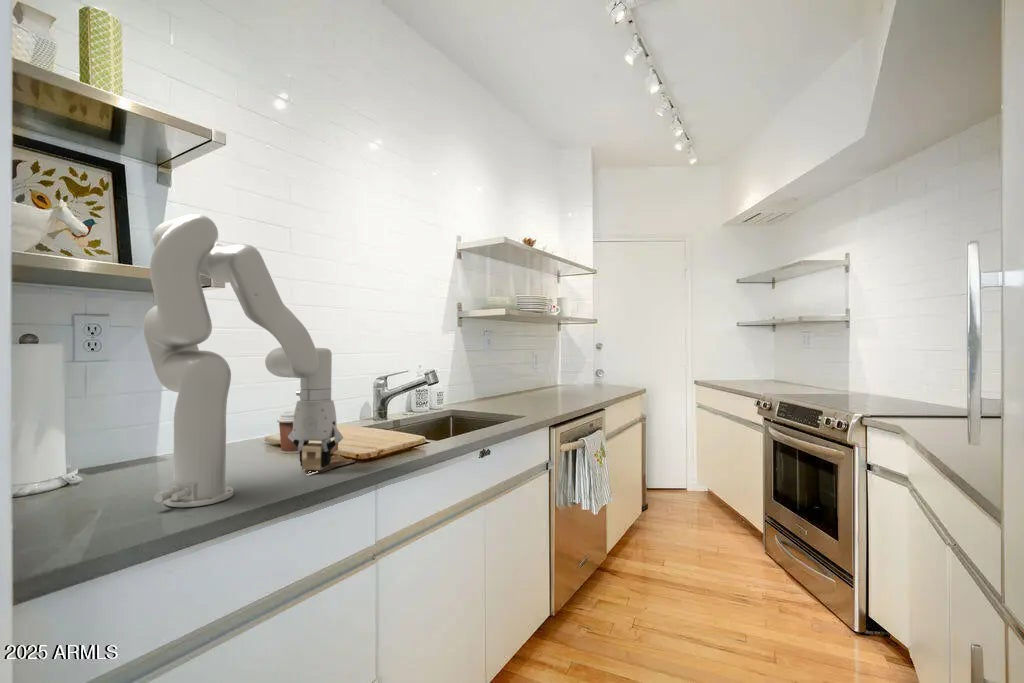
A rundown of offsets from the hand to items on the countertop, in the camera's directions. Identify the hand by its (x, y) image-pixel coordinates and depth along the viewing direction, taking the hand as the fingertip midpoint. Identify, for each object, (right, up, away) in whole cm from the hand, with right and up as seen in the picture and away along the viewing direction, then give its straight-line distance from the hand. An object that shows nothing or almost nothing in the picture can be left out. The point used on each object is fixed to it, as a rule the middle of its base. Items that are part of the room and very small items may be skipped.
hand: (315, 464), depth 131 cm
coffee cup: (-17, -2, +25) cm, 30 cm away
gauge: (+1, -1, +4) cm, 4 cm away
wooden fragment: (+1, -3, +9) cm, 9 cm away
